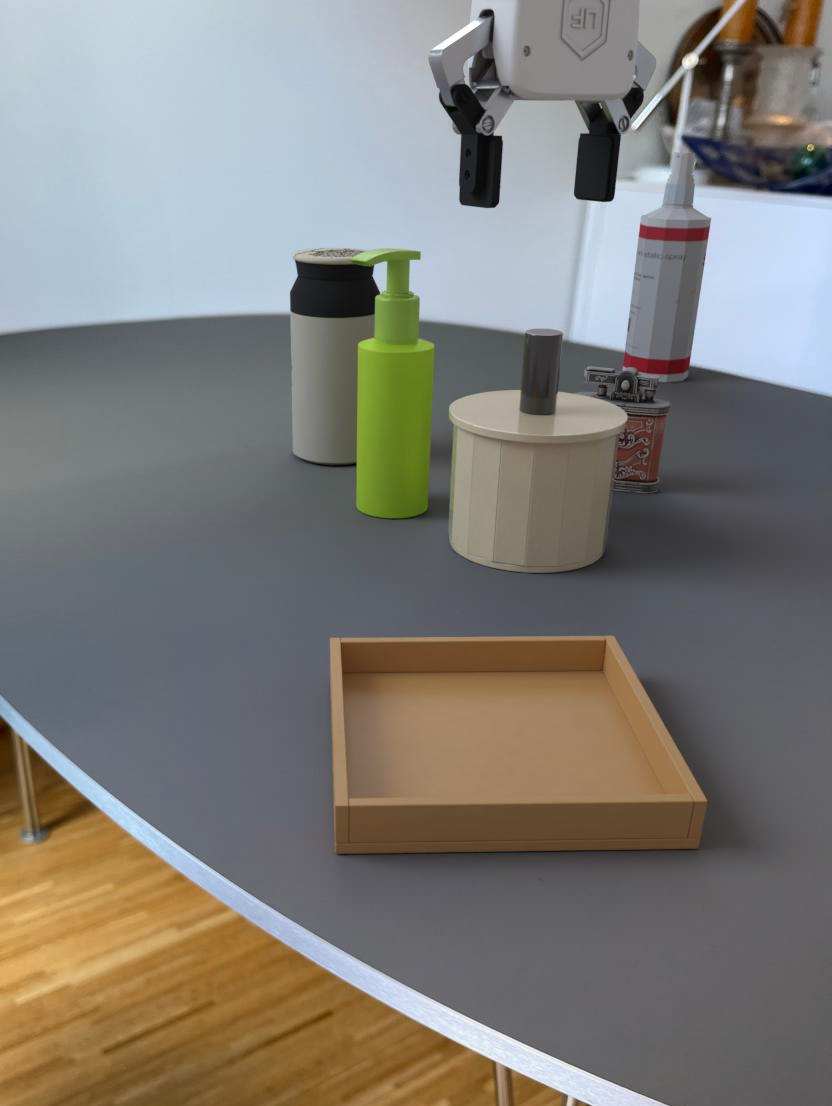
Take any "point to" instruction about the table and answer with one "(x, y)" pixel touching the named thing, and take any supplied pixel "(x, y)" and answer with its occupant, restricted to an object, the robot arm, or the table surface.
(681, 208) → the glue bottle
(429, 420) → the soap dispenser
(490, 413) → the tin lid
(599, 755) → the tray
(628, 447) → the lighter
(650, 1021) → the table surface
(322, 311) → the travel mug
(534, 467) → the tin
